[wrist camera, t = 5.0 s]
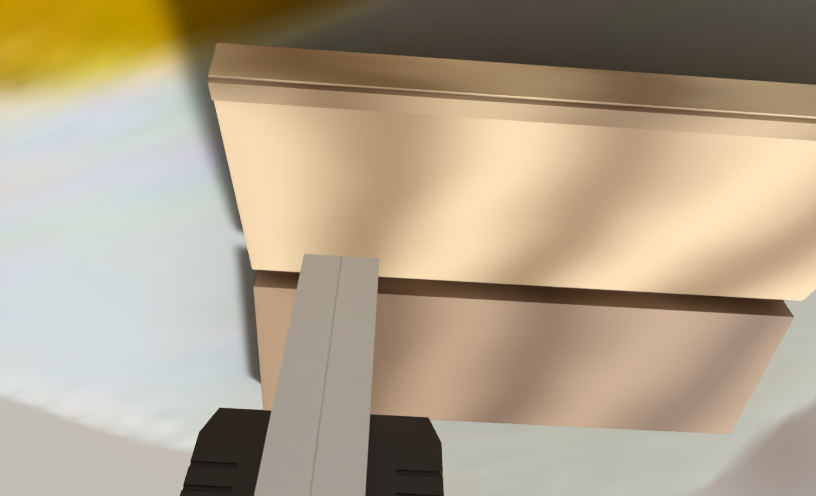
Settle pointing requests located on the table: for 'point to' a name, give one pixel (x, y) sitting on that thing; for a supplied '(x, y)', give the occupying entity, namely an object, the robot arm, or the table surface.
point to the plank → (521, 171)
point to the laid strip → (549, 353)
